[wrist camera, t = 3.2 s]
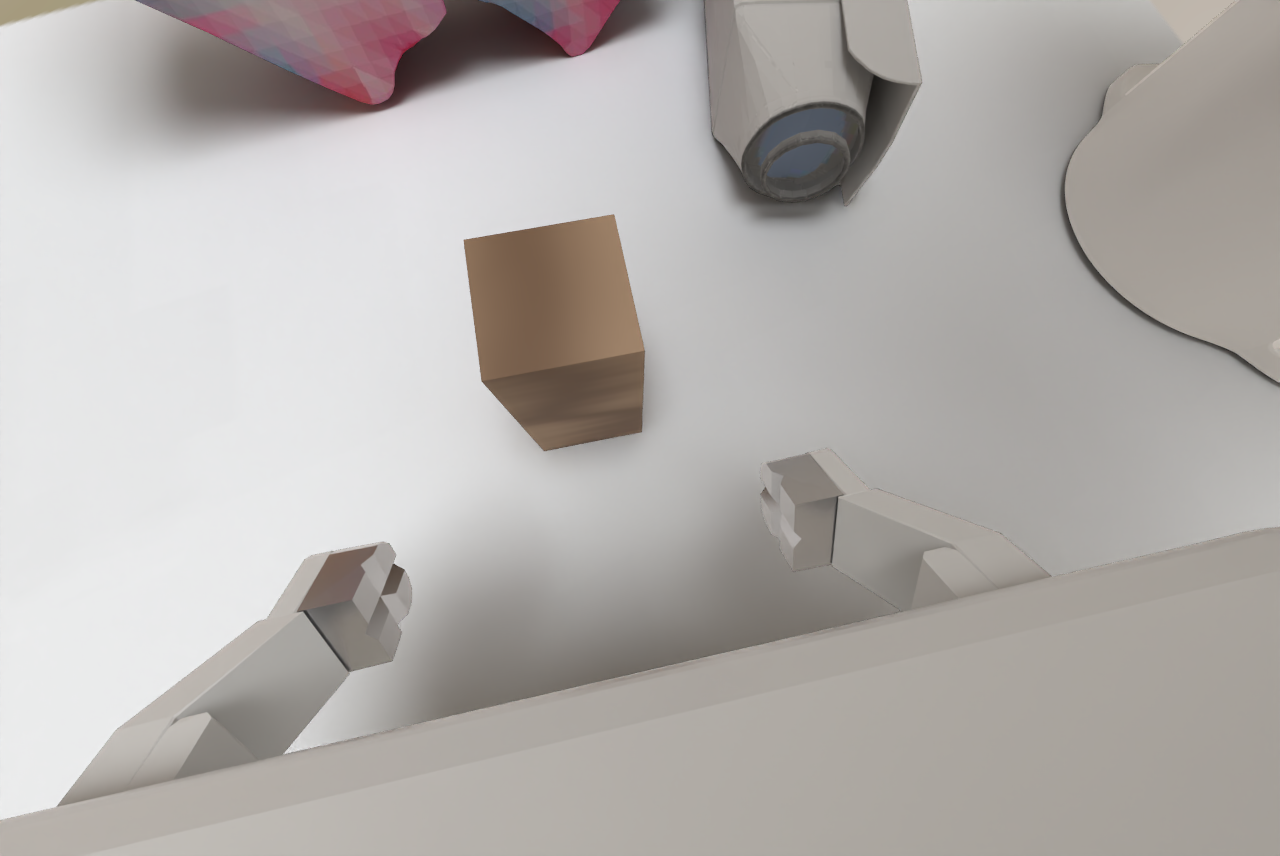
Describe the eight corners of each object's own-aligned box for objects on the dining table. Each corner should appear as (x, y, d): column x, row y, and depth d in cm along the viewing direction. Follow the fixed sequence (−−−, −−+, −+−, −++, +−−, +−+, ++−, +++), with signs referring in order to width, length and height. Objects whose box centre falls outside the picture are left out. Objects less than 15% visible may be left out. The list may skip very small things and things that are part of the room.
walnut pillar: (622, 343, 23) (614, 214, 14) (641, 431, 22) (644, 350, 13) (529, 360, 23) (463, 239, 14) (544, 451, 22) (481, 381, 13)
